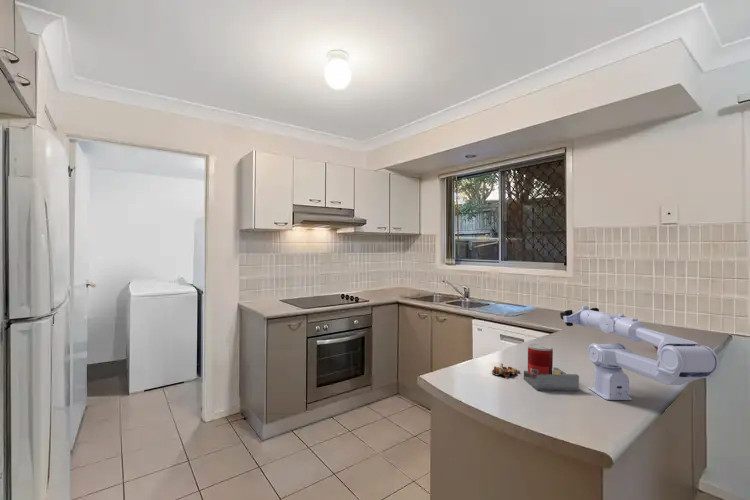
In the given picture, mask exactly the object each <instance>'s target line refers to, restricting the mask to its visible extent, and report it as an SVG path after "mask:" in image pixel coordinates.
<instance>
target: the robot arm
mask: <svg viewBox="0 0 750 500" xmlns="http://www.w3.org/2000/svg"><path fill="white" fill-rule="evenodd" d="M559 317H560V319H562V320H563V322H564V323H565V326H567V327H573V326H574V325H578V326H582V327H587V328H588V327H589V328H592V329H595V330H600V331H602V332H603V333H605V334H607V335H609V334H615V335H617V336H620V337H622V338H625V339H628V340H630V341H633V342H638V343H639V342H642V341H643V342H645V343H647V344H650V345H652V346H653V345H654V346H656V347H658V350H656V351H657V352H656V354H657V355H656V356H657V360H656V359H654V358H651V357H648V356H645V355H641V354H638V353H634V352H632V350H631V349H629V348H627V347H626V346H625V345H624V344H622V343H594V342H593V343H591V344H589V346H588V348H587V356H588V358H589V360H590V361H591V363H592V364H594V370H593V371H594V373H593V374H594V375H593V376H594V377H593V378H594V381H593V382H594V383H593V386H587V388H588V389H589V390H590V391H592V392H593V393H595V394H597V395H598V396H599V397H601V398H603V399H604V400H608V401H609V400H610V401H611V400H612V401H632V400H633V399H632V397H630V379H629V377H628V375H627V374H626V373H625V372H624V371H623V369H624V370H627V371H630V372H632V373H635V374H638V375H641V376H643V377H646V378H647V379H650V380H653V381H656V382H659V383H661V384H664V385H667V386H681V385H685V384H687V383H690V382H694V381H697V380H699V379H701V380H702V379H705V378H706V379H707V378H711V377H712V376H713V375H714V374H715V373H716V372H717V371H718V369H719V366H720V361H719V360H720V359H719V357H718V355H717V352H715V350H714V349H712V348H711V347H709V346H707V345H699V343H698V342H697V341H694V340H691V339H685V338H682V337H678V336H675V335H671V334H668V333H664V332H661V331H656V330H653V329H649V328H648V327H647V326H646V325H645V323H643V322H641V321H639V320H638V318H636V317H627V316H625V314H624V313H618V314H617V313H616V314H615V313H607V312H604V311H600V309H599V308H598V307H592V308H590V307H589V306H588V305H582V307H581V309H580V310H578V311H576V312H573V309H568V310H567V309H566V310H564V312H560V314H559ZM654 346H653V347H654Z"/></svg>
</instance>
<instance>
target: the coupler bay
mask: <svg viewBox="0 0 750 500" xmlns="http://www.w3.org/2000/svg"><path fill="white" fill-rule="evenodd" d="M523 380H524V381H525V382H526V383H528V384H529V385H530V386H531V387H532V388H533V389H535V391H542V392H543V391H551V392H552V391H553V392H556V391H557V392H579V390H580V389H579V387H580V382H579V381H580V375H579V374H576V373H573V374H572V373H566V372H564V371H562V370H561V369H559V368H558V367H553V368H552V374H535V376H533V375H532V374H531V373H530V372H528V370H523Z"/></svg>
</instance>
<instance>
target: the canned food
mask: <svg viewBox="0 0 750 500" xmlns="http://www.w3.org/2000/svg"><path fill="white" fill-rule="evenodd" d="M553 349H554V348H553V347H552V346H550V345H548V344H543V343H529V344H528V345H527V371H528V372H530V373H531V374H532V375H533V376H535V374H553V368H554V367H553V363H554V361H553V359H554V358H553V357H554V351H553Z"/></svg>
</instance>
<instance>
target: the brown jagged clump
mask: <svg viewBox="0 0 750 500" xmlns="http://www.w3.org/2000/svg"><path fill="white" fill-rule="evenodd" d="M491 373H492V374H493V375H496V376H499V375H501V376H503V377H504V379H505V380H509V379H511V376H510V374H512V375H518V374H521V370H520V369H517V367H512V366H504V364H503V363H501V364H500V366H499V367H498V366H493V369H492V370H491Z"/></svg>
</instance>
